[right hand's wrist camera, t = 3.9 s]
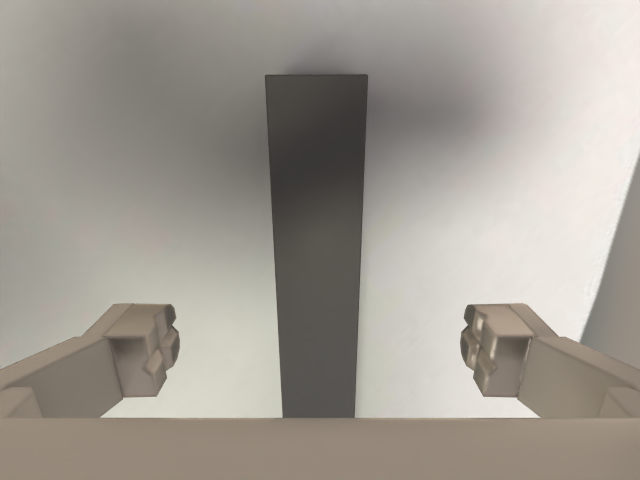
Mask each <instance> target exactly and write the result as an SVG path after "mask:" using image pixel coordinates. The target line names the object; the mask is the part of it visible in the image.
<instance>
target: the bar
mask: <svg viewBox="0 0 640 480" xmlns="http://www.w3.org/2000/svg"><path fill="white" fill-rule="evenodd" d="M265 85H266V104H267V123H268V142H269V162H270V181H271V200H272V219H273V239H274V258H275V277H276V296H277V315H278V335H279V354H280V373H281V392H282V412H283V418H354V415H355V389H356V364H357V339H358V313H359V288H360V263H361V238H362V212H363V187H364V162H365V136H366V111H367V86H368V75H367V74H366V75H265Z"/></svg>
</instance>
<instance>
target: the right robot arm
mask: <svg viewBox="0 0 640 480" xmlns="http://www.w3.org/2000/svg"><path fill="white" fill-rule="evenodd" d="M175 319H176V315H175V310H174V307H173V306H172V305H171V304H134V303H121V304H113V305H112V306H111V307H110V308H109V309H108V310H107V311H106V312H105V313H104V314H103V315H102V316H101V317H100V318H99V319H98V320H97V321H96V322H95V323H94V324H93V325H92V326H91V327H90V328H89V329H88V330H87V331H86V332H85V333H84V334H83V335H82V336H81V337H73V338H71V339H69V340H67V341H64V342H62V343H60V344H57V345H55V346H53V347H51V348H48V349H46V350H44V351H41V352H39V353H37V354H35V355H32V356H30V357H28V358H26V359H23V360H21V361H19V362H16V363H14V364H12V365H10V366H7V367H5V368H3V369H0V480H640V370H639V369H637V368H635V367H633V366H630V365H628V364H626V363H623V362H621V361H619V360H616V359H614V358H612V357H610V356H608V355H605V354H603V353H601V352H598V351H596V350H594V349H592V348H589V347H587V346H585V345H582V344H580V343H578V342H576V341H573V340H571V339H569V338H567V337H559V336H558V335H557V334H556V333H555V332H554V331H553V330H552V329H551V328H550V327H549V326H548V325H547V324H546V323H545V322H544V321H543V320H542V319H541V318H540V317H539V316H538V315H537V314H536V313H535V312H534V311H533V310H532V309H531V308H530V307H529V306H528V305H526V304H523V303H513V304H475V305H467V307H466V310H465V314H464V319H465V321H466V322H467V324H468V326H467V327H466V328H465V329H464V330H463V331H462V332H461V340H460V345H461V354H462V357H463V360H464V362H465V364H466V366H467V367H469V368H470V369H472V370H474V376H473V379H474V380H475V382H476V384H477V386H478V388H479V389H480V391H481V393H482V395H483V397H517V399H518V400H519V401H520V402H522V403H523V404H524V405H525V406H527V407H528V408H529V409H531V410H532V411H533V412H534V413H536V414H537V415H538V416H540V417H541V418H99V417H101V416H102V415H103V414H104V413H106V412H107V411H108V410H110V409H111V408H112V407H113V406H115V405H116V404H117V403H119V402H120V401H121V400H122V399H123V397H157V395H158V393H159V391H160V389H161V388H162V386H163V384H164V382H165V380H166V379H167V376H166V371H167V370H168V369H170V368H171V367H173V366H174V364H175V362H176V360H177V357H178V353H179V348H180V339H179V332H178V331H177V330H176V329H175V328H174V327H173V326H172V324H173V322H174V321H175Z"/></svg>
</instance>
